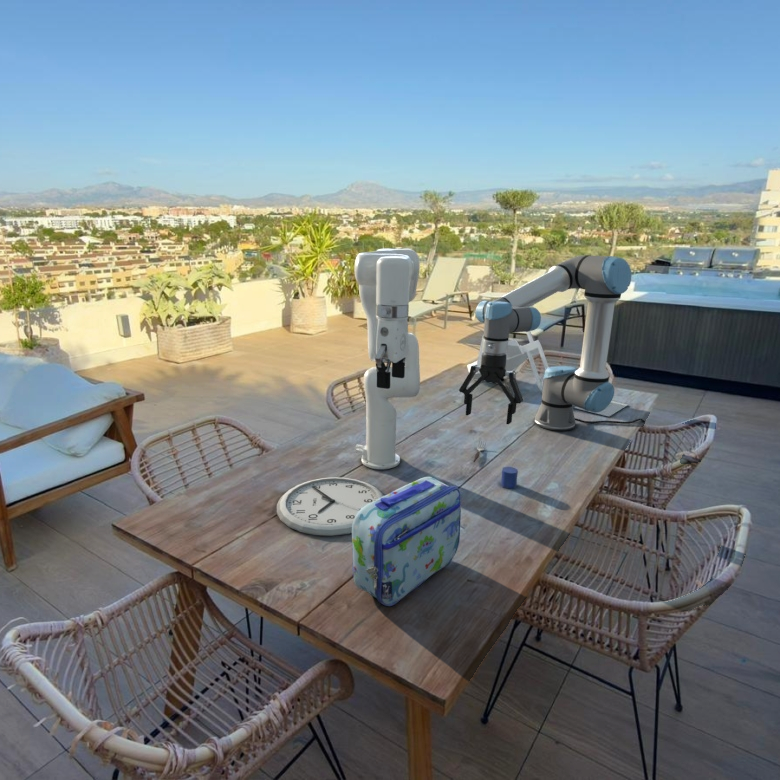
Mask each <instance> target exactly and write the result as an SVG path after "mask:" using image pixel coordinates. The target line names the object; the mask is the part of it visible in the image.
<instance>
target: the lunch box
mask: <svg viewBox="0 0 780 780" xmlns="http://www.w3.org/2000/svg"><path fill="white" fill-rule="evenodd" d="M461 499H462V497H461V491H460V489H459V488H458V487H457V486H455V485H450V486H449V485H447V484H445V483H444V482H442V481H440V480H438V479H436V478H434V477H432V476H424V477H421V478H419V479H416V480H414V481H412V482H410V483H407V484H405V485H404V486H401V487H399V488H397V489H395V490H392V491H391V492H390V493H386V494H384V496H383V497H381V498H379V499H377V500H375V501H373V502H371V503H369V504H367V505H365V506H364V507H362V508H361V509H360V510H359V512H358V513H357V515H356V516H355V518H354V521H353V526H352V533H351V550H352V576H353V581H354V584H355V587H356V588H358V589H360V590H362V591H364V592H366V593H368V594H370V596H372V597H374V598H375V599H377V601H378V603H379V604H382V605H383V606H385V607H393V606H394V605H396V604H397V603H399V602H400V601H402V599H404V598H405V597H406V596H407V595H409V594H410V593H411V592H413V591H414V590H415V589H416V588H418V587H419V586H420V585H422V584H423V583H424V582H425V581H427V580H428V579H429V578H430V577H432V575H434V574H435V573H437V572H439V571H441V570H442V569H443V568H445V567H446V566H448V565H449V564H450V562H452V560H453V559H454V557H455V555H456V553H457V551H458V549H459V544H460V537H461V519H462V515H461V513H462V512H461V510H462V507H461V505H462V504H461V503H462V502H461Z"/></svg>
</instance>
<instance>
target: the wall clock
mask: <svg viewBox="0 0 780 780" xmlns="http://www.w3.org/2000/svg"><path fill="white" fill-rule="evenodd" d="M383 496H385V494H384V493H383V492H382V491H381V490H380V489H379V488H377V487H376V486H374V485H372V484H371V483H369V482H365V481H362V480H359V479H355V478H349V477H338V476H337V477H335V476H333V477H332V476H331V477H322V478H317V479H312V480H307V481H305V482H302V483H299V484H297V485H295V486H293V487H292V488H290V489H288V490H287V491H286V492H285V493H284V494H283V495H281V496H280V498H279V499H278V502H277V503H276V515H277V517H278V518H279V520H280V521H281V522H282V523H283V524H285V525H286V526H287V527H288V528H290V529H293V530H295V531H297V532H299V533H303V534H308V535H312V536H327V537H328V536H329V537H331V536H332V537H333V536H342V535H350V534H352V526H353V521H354V518H355V516H356V515H357V513H358V512H359V510H360V509H361V508H362V507H364V506H365V505H367V504H369V503H371V502H373V501H375V500H377V499H379V498H381V497H383Z"/></svg>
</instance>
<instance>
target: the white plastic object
mask: <svg viewBox="0 0 780 780" xmlns="http://www.w3.org/2000/svg"><path fill="white" fill-rule="evenodd" d="M525 333H526V336H527V339H528V342H529V343H526V344H524V345H522V344H519V342H518V341H517V339H516V338H514V339H508V348H507V353H505V354H506V355H507V358H506V367H505V369H506V371H508V372H512V371H514V370H515V369H517V368H518V367H519V366H520V365H522V364H523V363H525V362H526V361H527V360H528V361H529V364H530V367H531V371H532V374H533V377H534V379H535V384H536V386H537V388H538V389H539V391H541V392H542V391H543V383H542V381H541V378H540V375H539V371H538V369H537V366H536V362H535V359H534V356H537V355H540V359H541V362H542V364H543V367H544V370H546V369H547V368H549V367H550V366H549V363H548V360H547V357H546V355H545V352H544V348H543V346H542V344H541V342H540V339H536V340H534V338H533V335H532V331H529V332H525ZM483 336H484V334H483V335H482V336H481V341H480V345H479V346H480V347H479V350H478V351H479V352H478V356H477V360H475V361H474V362H472V363H469V364H467V365H466V366H467V367H466V368H467V370H468V374H469V373H470V368H471V366H473V365H477V366H478V367H481V358H482V353H483V351H482V347H483ZM480 377H481V374H480V372H479V371H478V372H476V373H475V375H474V377H473V378H472V380H478V379H479V378H480ZM505 377H507V376H506V375H505Z"/></svg>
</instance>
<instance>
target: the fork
mask: <svg viewBox="0 0 780 780" xmlns="http://www.w3.org/2000/svg"><path fill="white" fill-rule="evenodd" d="M486 444H487V441H483V440H479V441H478V444H477V448H476V450H477V452H476V454H475V455H474V458H473V463H475V462H476V461H477V459H478V458H479V456H480V453H481V452H483V451H485V449H486V446H487V445H486Z"/></svg>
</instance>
